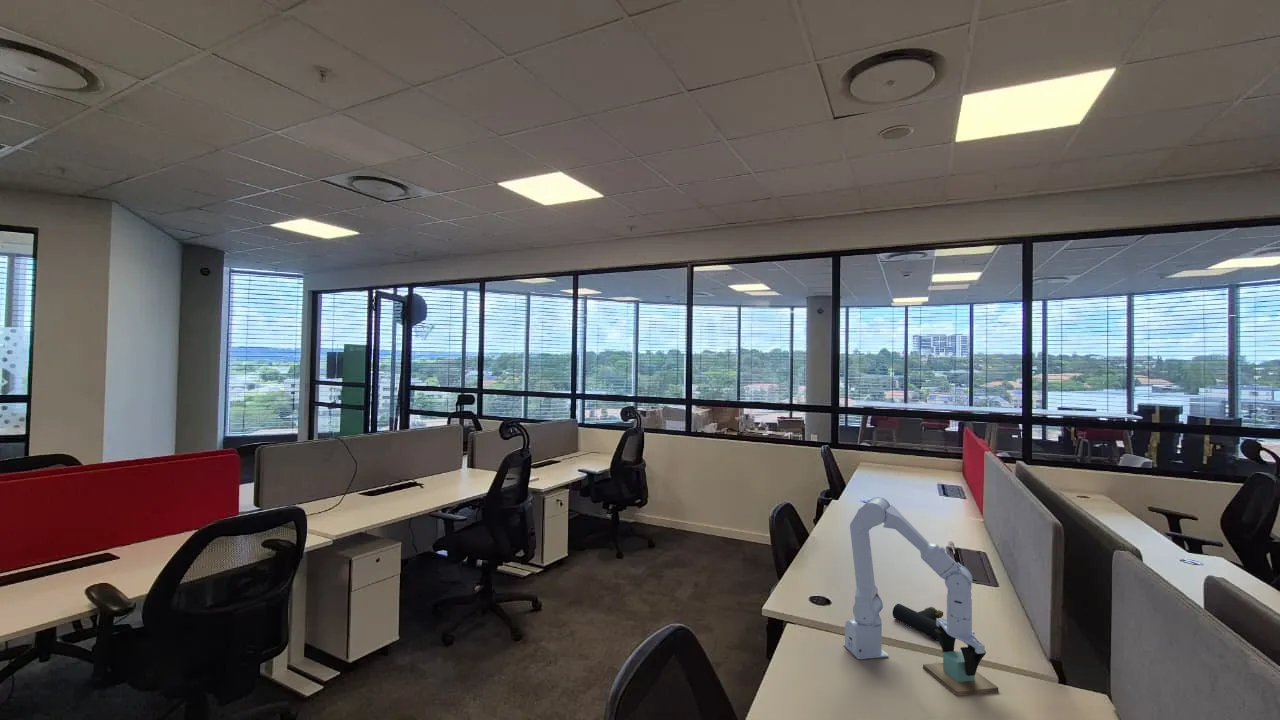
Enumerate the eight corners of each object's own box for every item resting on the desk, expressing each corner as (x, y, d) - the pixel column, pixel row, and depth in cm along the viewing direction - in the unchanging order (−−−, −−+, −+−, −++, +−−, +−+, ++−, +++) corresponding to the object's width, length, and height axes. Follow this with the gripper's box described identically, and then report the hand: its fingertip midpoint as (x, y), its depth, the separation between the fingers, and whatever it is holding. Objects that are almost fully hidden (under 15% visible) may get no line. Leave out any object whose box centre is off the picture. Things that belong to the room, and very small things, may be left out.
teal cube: (957, 682, 133) (957, 662, 133) (943, 670, 138) (943, 652, 138) (974, 680, 133) (974, 661, 134) (959, 669, 138) (959, 650, 139)
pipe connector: (916, 597, 173) (960, 617, 159) (916, 613, 173) (960, 634, 159) (892, 604, 168) (935, 625, 154) (892, 621, 168) (935, 643, 154)
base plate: (956, 695, 129) (956, 679, 129) (923, 668, 141) (922, 653, 141) (998, 691, 131) (998, 675, 131) (962, 664, 142) (962, 650, 142)
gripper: (995, 627, 129) (995, 681, 129) (952, 601, 144) (952, 650, 143) (970, 629, 128) (970, 683, 128) (929, 602, 143) (929, 652, 142)
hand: (959, 666), depth 136 cm, fingers open, 7 cm apart
